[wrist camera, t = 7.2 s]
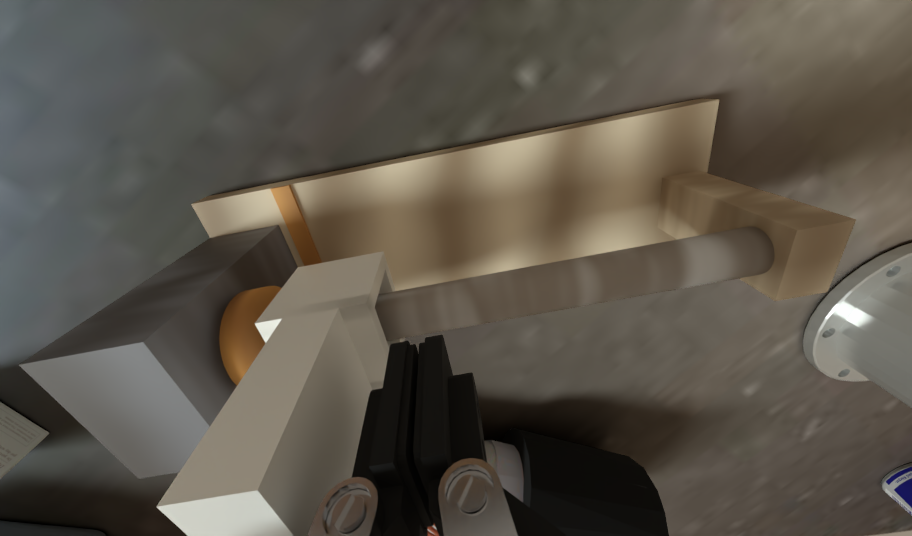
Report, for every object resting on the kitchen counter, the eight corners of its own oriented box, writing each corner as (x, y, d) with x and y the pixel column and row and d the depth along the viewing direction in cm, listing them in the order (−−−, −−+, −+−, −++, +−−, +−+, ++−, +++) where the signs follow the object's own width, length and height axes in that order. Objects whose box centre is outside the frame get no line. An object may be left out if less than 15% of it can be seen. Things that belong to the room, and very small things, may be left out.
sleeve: (383, 251, 15) (308, 481, 6) (406, 324, 17) (374, 581, 8) (297, 267, 16) (106, 514, 7) (330, 338, 17) (217, 604, 8)
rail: (699, 98, 19) (1017, 110, 8) (676, 260, 23) (863, 393, 13) (207, 196, 20) (-38, 311, 9) (280, 331, 24) (168, 507, 14)
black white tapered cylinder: (253, 344, 30) (165, 381, 20) (606, 433, 33) (685, 506, 23) (220, 455, 30) (115, 549, 20) (579, 536, 33) (646, 656, 23)
